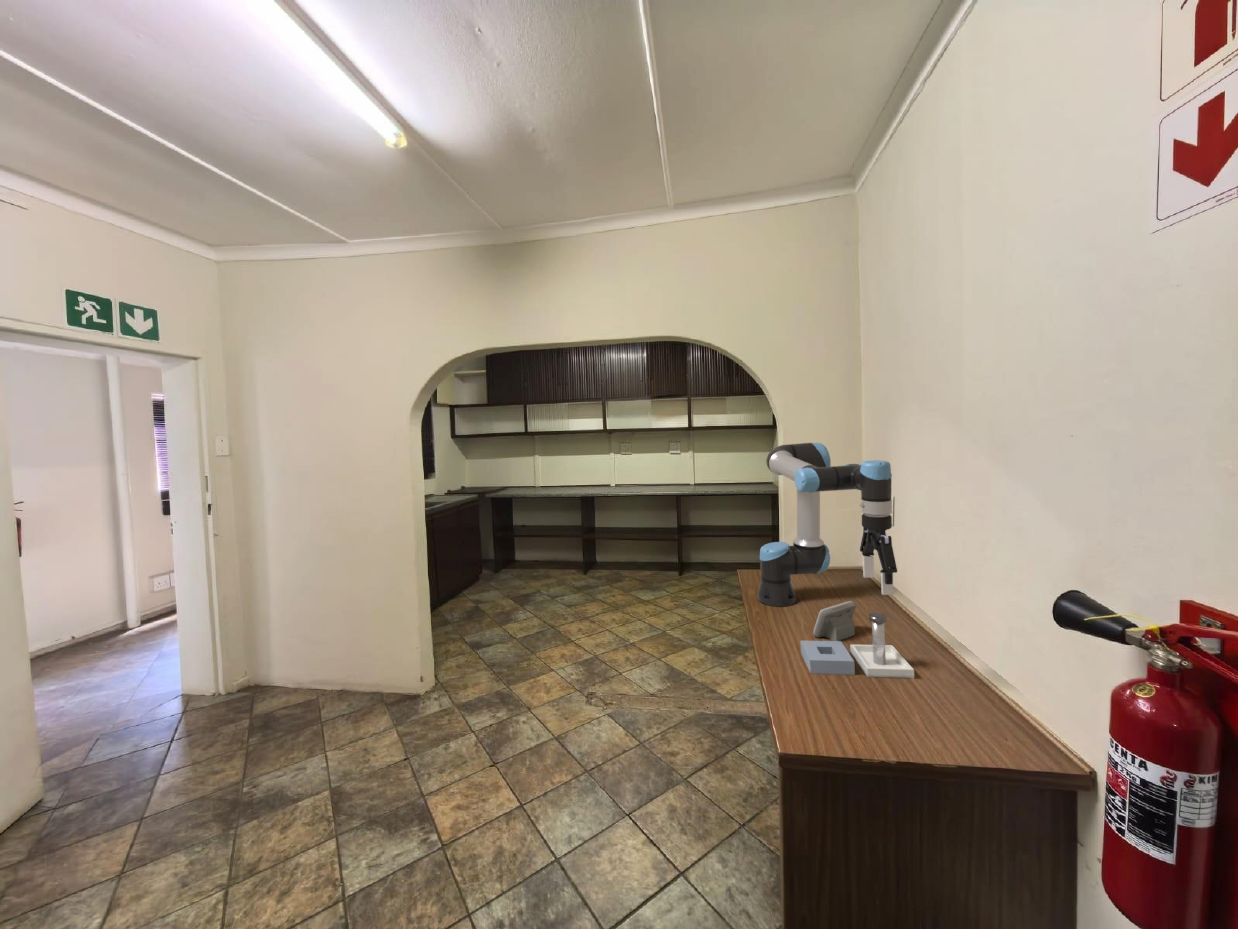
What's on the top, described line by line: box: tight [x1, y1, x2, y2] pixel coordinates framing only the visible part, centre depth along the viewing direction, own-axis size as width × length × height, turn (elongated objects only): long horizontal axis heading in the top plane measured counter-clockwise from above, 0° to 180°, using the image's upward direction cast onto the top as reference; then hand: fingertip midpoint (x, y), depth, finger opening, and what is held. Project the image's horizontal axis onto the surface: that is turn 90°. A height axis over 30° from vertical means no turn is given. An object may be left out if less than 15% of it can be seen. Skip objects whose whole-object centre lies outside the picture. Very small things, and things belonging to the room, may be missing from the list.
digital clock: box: [812, 600, 857, 641], centre depth 149 cm, size 16×9×11 cm, turn 102°
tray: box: [849, 644, 915, 679], centre depth 130 cm, size 14×12×2 cm
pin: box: [868, 612, 888, 665], centre depth 129 cm, size 4×4×14 cm
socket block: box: [800, 640, 856, 676], centre depth 132 cm, size 12×12×4 cm
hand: (877, 585), depth 129 cm, fingers open, 13 cm apart
